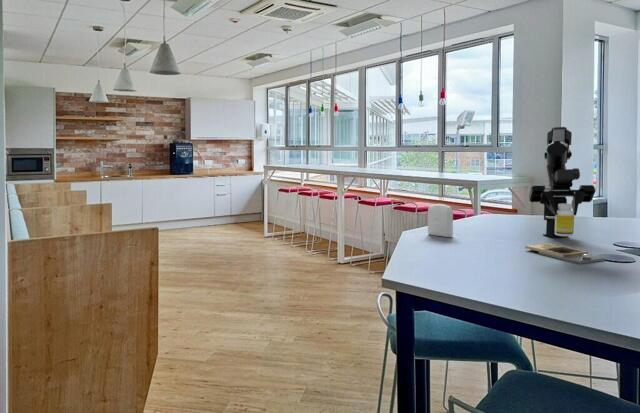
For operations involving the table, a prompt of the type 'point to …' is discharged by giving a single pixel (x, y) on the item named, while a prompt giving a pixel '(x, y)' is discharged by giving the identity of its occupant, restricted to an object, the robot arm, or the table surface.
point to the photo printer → (440, 220)
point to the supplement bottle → (564, 220)
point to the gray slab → (571, 255)
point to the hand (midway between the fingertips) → (565, 214)
